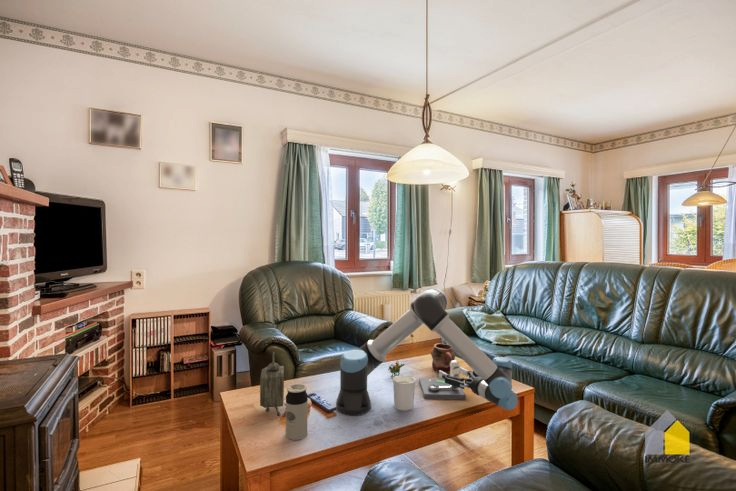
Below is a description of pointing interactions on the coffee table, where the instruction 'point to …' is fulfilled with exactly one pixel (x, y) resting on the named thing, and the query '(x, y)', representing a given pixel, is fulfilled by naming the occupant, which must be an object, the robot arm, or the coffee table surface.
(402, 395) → the candle holder
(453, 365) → the shiny silver rounded post
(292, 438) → the travel mug
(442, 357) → the decorative planter
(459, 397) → the dial board
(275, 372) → the grey upright ornament
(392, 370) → the figurine
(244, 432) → the coffee table surface
